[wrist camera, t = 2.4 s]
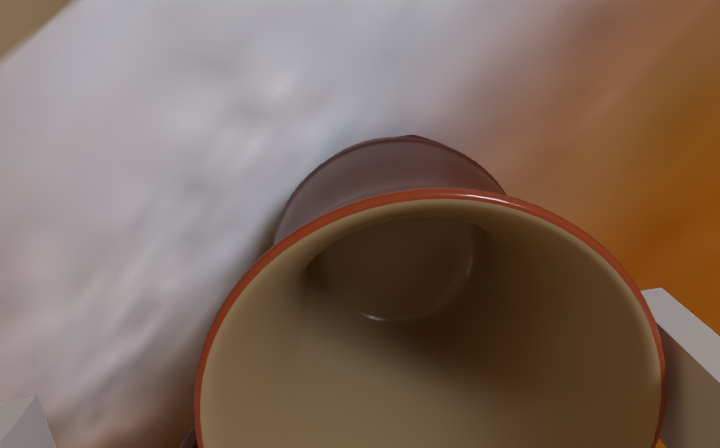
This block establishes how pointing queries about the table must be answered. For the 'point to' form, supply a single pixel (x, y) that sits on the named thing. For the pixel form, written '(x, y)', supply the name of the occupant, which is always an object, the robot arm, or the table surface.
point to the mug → (428, 320)
